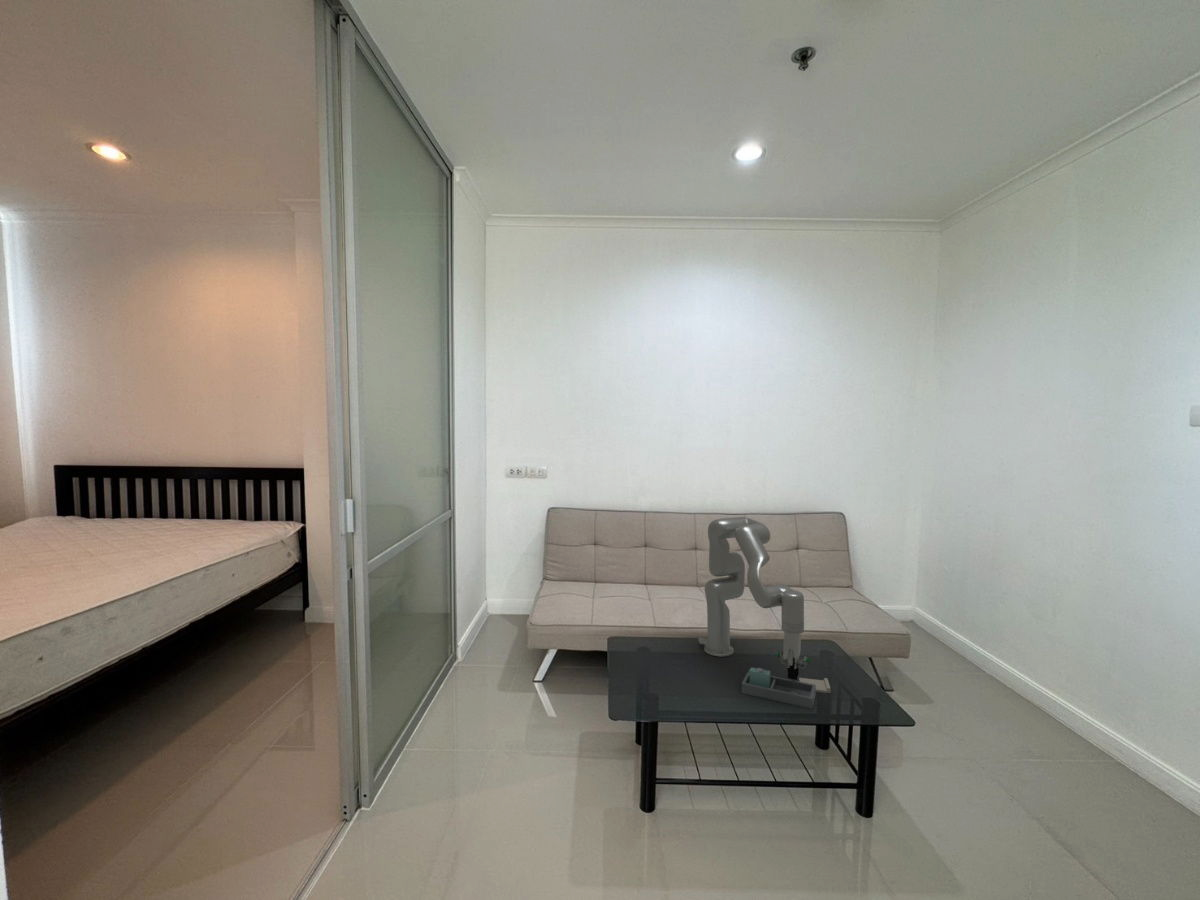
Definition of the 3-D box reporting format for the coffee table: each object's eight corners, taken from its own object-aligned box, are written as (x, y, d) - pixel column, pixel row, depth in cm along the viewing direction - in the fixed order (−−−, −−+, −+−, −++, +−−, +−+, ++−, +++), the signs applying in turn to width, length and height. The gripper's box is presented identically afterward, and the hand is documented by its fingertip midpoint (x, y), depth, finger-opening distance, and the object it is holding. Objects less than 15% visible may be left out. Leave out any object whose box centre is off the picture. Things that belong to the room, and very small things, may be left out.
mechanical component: (808, 687, 177) (808, 659, 177) (777, 681, 182) (777, 653, 182) (809, 683, 180) (809, 655, 179) (779, 677, 184) (778, 650, 184)
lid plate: (801, 689, 186) (801, 685, 186) (799, 679, 194) (798, 675, 193) (830, 693, 183) (830, 688, 183) (827, 682, 191) (827, 678, 191)
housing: (741, 693, 184) (741, 672, 184) (748, 680, 194) (748, 660, 194) (812, 709, 173) (812, 687, 173) (815, 694, 183) (815, 673, 182)
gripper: (785, 617, 189) (785, 665, 190) (778, 632, 175) (778, 684, 175) (806, 620, 186) (806, 669, 186) (801, 635, 171) (801, 689, 172)
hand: (793, 676), depth 181 cm, fingers closed on mechanical component, 2 cm apart
